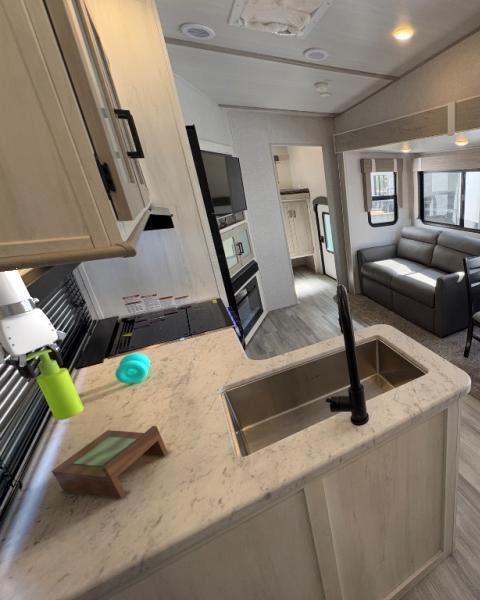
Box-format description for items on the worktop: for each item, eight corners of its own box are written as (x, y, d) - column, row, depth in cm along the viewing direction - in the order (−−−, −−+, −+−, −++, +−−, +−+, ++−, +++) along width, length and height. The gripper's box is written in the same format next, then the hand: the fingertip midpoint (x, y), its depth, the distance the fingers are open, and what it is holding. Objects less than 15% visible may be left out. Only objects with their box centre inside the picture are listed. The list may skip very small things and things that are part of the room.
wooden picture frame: (63, 491, 80) (45, 462, 77) (117, 448, 93) (103, 421, 90) (121, 498, 78) (105, 468, 74) (168, 453, 90) (156, 425, 87)
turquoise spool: (153, 369, 136) (146, 349, 132) (150, 380, 128) (142, 359, 124) (125, 377, 131) (116, 356, 128) (120, 388, 123) (110, 367, 119)
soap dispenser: (44, 421, 85) (13, 357, 79) (74, 405, 92) (48, 345, 86) (59, 423, 84) (29, 359, 78) (89, 407, 90) (63, 346, 84)
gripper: (41, 297, 85) (69, 354, 91) (-52, 323, 69) (-10, 390, 75) (63, 297, 84) (90, 355, 90) (-25, 323, 68) (14, 391, 74)
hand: (44, 370), depth 83 cm, fingers closed on soap dispenser, 5 cm apart
